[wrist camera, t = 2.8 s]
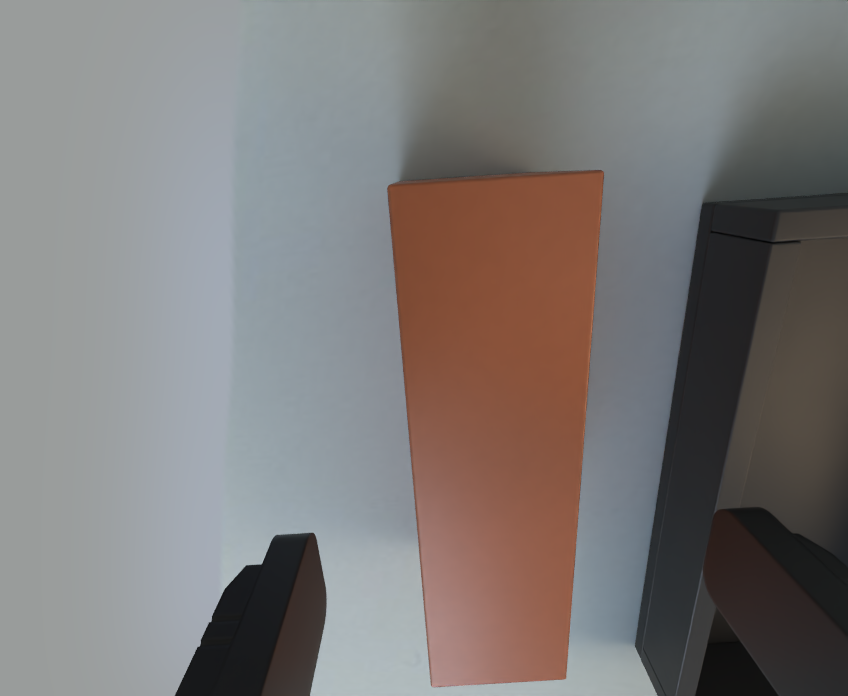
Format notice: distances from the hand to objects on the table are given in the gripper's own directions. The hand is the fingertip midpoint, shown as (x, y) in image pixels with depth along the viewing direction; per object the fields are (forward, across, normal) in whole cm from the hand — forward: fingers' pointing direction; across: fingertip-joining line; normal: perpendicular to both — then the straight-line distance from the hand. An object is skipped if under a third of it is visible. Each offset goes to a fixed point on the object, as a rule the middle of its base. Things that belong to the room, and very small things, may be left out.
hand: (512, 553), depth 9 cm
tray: (+7, -12, +4) cm, 15 cm away
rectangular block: (+7, 0, 0) cm, 7 cm away
